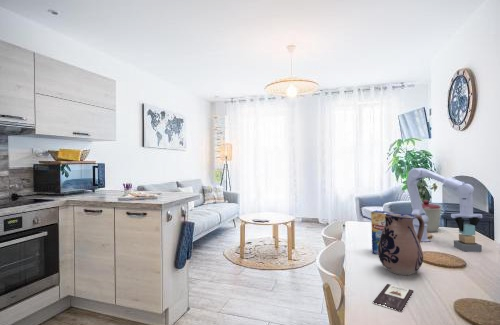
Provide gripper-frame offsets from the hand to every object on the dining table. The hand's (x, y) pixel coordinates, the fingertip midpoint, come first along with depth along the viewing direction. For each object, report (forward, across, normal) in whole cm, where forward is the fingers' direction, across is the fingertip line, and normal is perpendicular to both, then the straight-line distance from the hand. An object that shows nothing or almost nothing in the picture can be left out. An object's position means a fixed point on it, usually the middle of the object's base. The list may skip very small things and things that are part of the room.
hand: (466, 231), depth 148 cm
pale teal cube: (+1, 0, 0) cm, 1 cm away
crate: (+10, 0, 0) cm, 10 cm away
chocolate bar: (+10, -59, -58) cm, 84 cm away
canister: (+10, -1, +41) cm, 42 cm away
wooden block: (+9, 0, 0) cm, 9 cm away
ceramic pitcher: (+10, -46, -33) cm, 57 cm away
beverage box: (+10, -46, -11) cm, 48 cm away
